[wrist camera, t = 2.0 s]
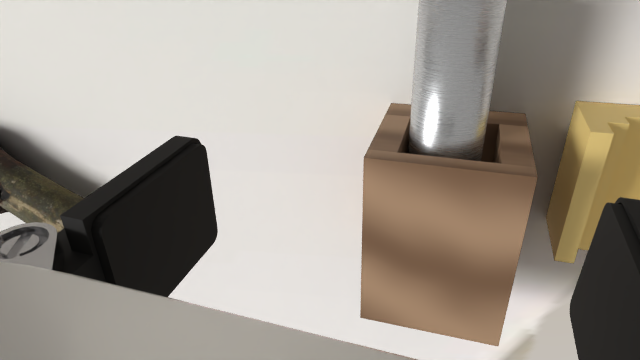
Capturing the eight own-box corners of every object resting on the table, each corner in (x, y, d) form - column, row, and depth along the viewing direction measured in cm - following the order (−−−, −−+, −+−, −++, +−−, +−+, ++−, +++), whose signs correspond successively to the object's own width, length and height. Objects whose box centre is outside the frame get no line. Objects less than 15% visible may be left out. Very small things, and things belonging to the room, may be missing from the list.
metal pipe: (126, 208, 41) (78, 244, 36) (112, 256, 45) (67, 294, 40) (-37, 103, 42) (-105, 125, 37) (-38, 159, 45) (-99, 185, 41)
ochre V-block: (575, 101, 26) (590, 131, 23) (722, 111, 24) (765, 146, 21) (545, 217, 30) (554, 260, 26) (670, 234, 28) (698, 282, 25)
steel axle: (431, -21, 24) (410, -10, 21) (513, -19, 22) (503, -7, 19) (408, 254, 33) (390, 290, 30) (465, 269, 31) (454, 309, 28)
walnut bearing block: (391, 103, 30) (363, 157, 23) (525, 113, 27) (537, 177, 21) (384, 241, 35) (360, 317, 28) (495, 259, 33) (498, 346, 26)
